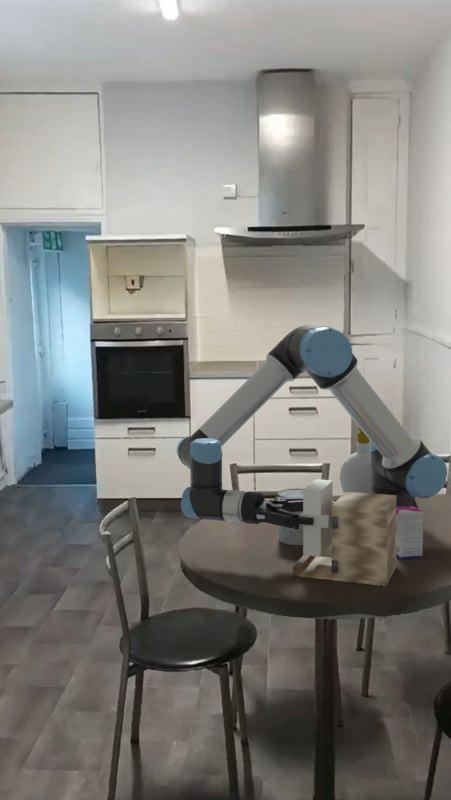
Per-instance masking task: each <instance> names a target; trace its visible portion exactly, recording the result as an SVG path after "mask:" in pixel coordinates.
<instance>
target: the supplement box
mask: <svg viewBox="0 0 451 800" xmlns="http://www.w3.org/2000/svg"><path fill="white" fill-rule="evenodd" d="M423 541H424V511H423V510H421V509H420V508H419V509H418V508H416V507H415V506H406V507H396V558H398V559H399V560H409V559H422V558H423V546H424V545H423V543H424V542H423Z"/></svg>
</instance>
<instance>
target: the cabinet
mask: <svg viewBox="0 0 451 800" xmlns="http://www.w3.org/2000/svg"><path fill="white" fill-rule="evenodd" d="M334 502H335V503H334V504H333V505H332V517H331V528H332V543H331V557H329V556H321V557H318V556H309V555H302V556H301V557H300V558H299V559H298V560H297V562H296V563H295V564H294V565H293V566H292V576H293V577H300V578H307V579H308V578H309V579H310V578H311V579H318V580H327V581H335V582H344V583H353V582H355V583H356V584H362V583H363V584H362V585H371V586H380V585H382V586H381V587H387V585H388V583H389V582H390V579H391V578H392V577H393V574H394V571H395V570H396V567H397V556H396V495H384V494H369V493H355V492H344V493H343V492H342V495H341V496H339V498H337V499H336V501H334ZM390 577H391V578H390Z"/></svg>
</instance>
